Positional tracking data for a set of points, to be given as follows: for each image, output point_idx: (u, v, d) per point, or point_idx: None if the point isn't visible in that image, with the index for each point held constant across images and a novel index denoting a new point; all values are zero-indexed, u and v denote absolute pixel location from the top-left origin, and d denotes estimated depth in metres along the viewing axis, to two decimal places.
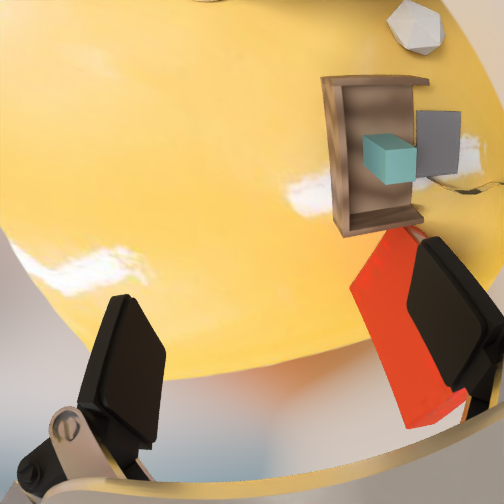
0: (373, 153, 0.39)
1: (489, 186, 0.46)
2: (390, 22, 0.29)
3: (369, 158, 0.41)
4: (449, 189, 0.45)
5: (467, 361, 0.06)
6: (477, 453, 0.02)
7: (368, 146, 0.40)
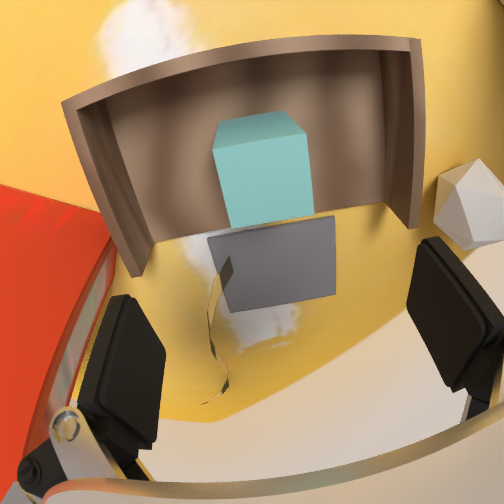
0: (267, 123, 0.18)
1: (223, 367, 0.38)
2: (480, 163, 0.21)
3: (247, 122, 0.20)
4: (213, 305, 0.30)
5: (467, 361, 0.06)
6: (477, 452, 0.02)
7: (271, 117, 0.20)
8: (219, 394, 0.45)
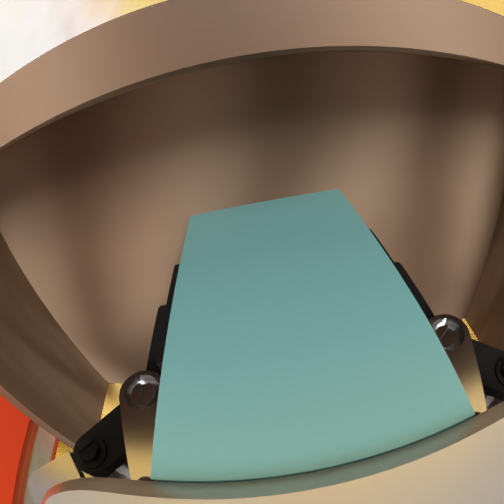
0: (323, 276, 0.06)
1: None
2: None
3: (259, 248, 0.08)
4: None
5: None
6: (477, 452, 0.02)
7: (321, 227, 0.08)
8: None
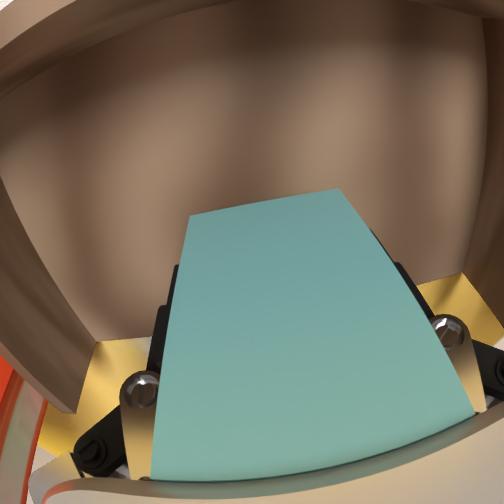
0: (323, 275, 0.06)
1: None
2: None
3: (258, 248, 0.08)
4: None
5: None
6: (477, 453, 0.02)
7: (321, 227, 0.08)
8: None
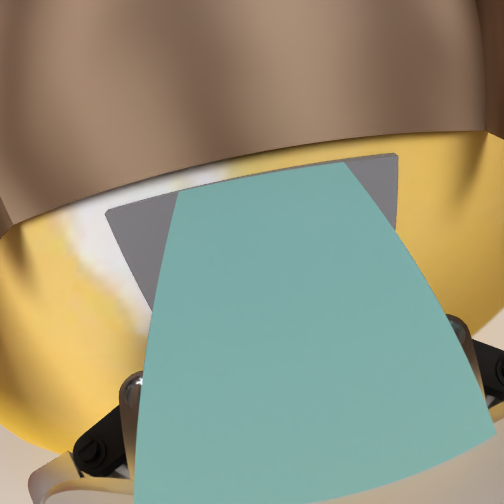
0: (329, 264, 0.06)
1: None
2: None
3: (254, 230, 0.07)
4: None
5: None
6: (477, 453, 0.02)
7: (326, 206, 0.07)
8: None
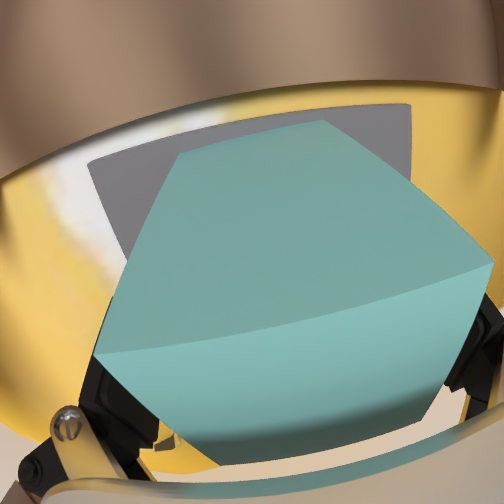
0: (303, 167, 0.06)
1: None
2: None
3: (241, 160, 0.07)
4: None
5: (466, 361, 0.06)
6: (477, 452, 0.02)
7: (304, 141, 0.08)
8: None
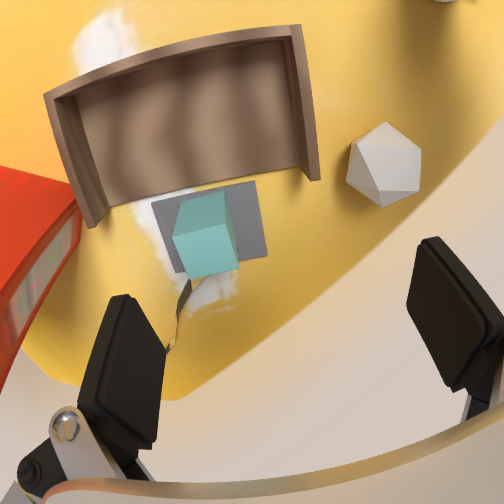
0: (208, 209, 0.30)
1: (175, 332, 0.43)
2: (385, 125, 0.27)
3: (197, 206, 0.31)
4: None
5: (467, 361, 0.06)
6: (477, 452, 0.02)
7: (213, 200, 0.31)
8: None
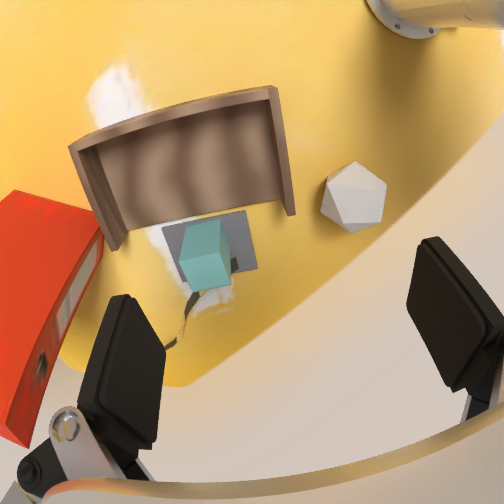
0: (207, 237, 0.38)
1: (182, 329, 0.51)
2: (354, 165, 0.35)
3: (198, 233, 0.39)
4: None
5: (467, 361, 0.06)
6: (477, 452, 0.02)
7: (211, 228, 0.40)
8: None
